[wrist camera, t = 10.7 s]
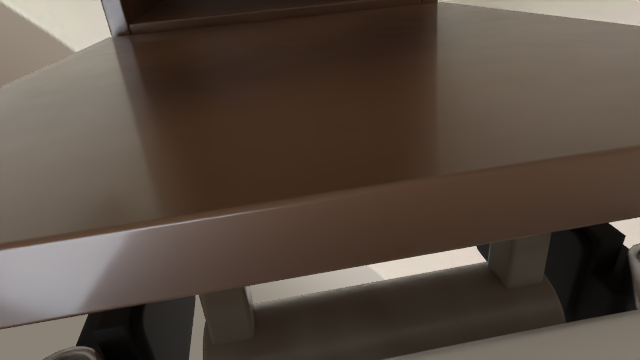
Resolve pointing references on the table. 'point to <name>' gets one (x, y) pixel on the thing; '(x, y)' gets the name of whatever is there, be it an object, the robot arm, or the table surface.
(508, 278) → the lid
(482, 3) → the table surface
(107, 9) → the chest
